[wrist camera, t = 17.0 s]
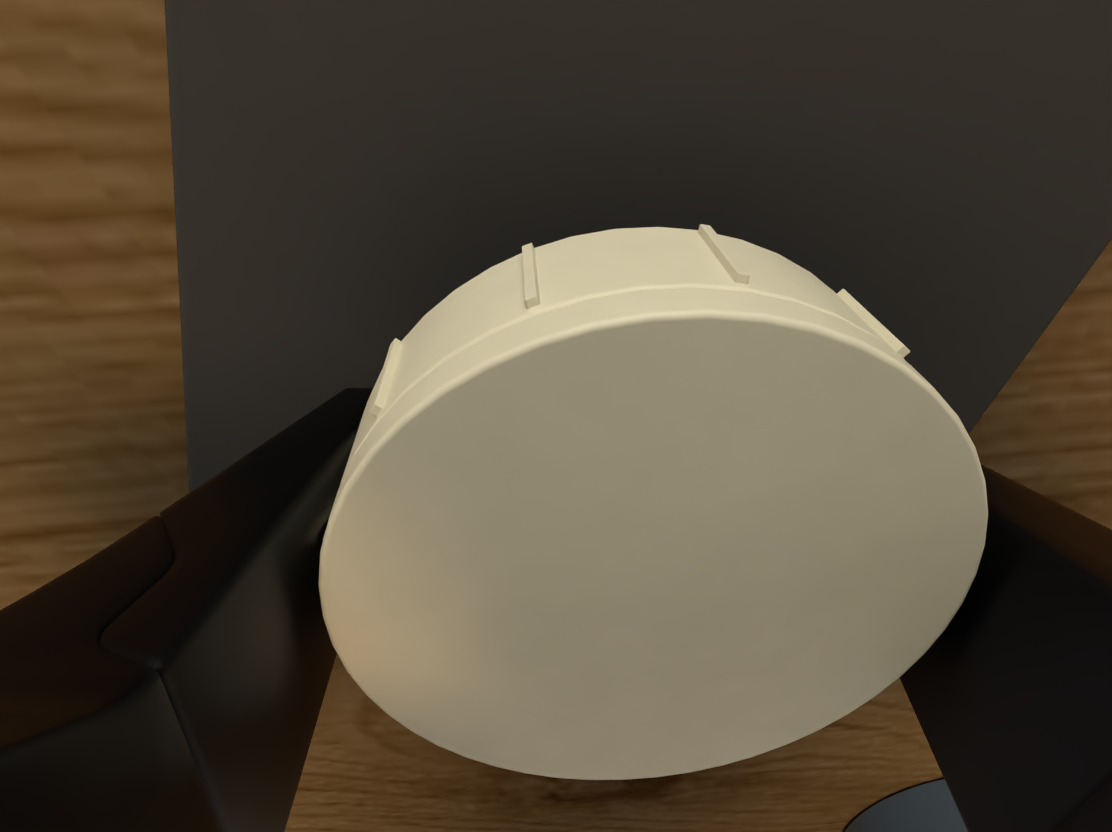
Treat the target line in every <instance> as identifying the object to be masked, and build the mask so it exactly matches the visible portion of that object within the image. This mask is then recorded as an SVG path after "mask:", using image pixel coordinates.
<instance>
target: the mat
mask: <svg viewBox="0 0 1112 832" xmlns="http://www.w3.org/2000/svg"><path fill="white" fill-rule="evenodd" d="M165 17H166V36H167V56H168V76H169V96H170V116H171V136H172V156H173V176H174V195H175V215H176V235H177V255H178V275H179V295H180V315H181V334H182V354H183V374H184V394H185V414H186V434H187V454H188V474H189V493H190V492H192V491H193V490H195V489H196V488H198V487H199V486H201V485H202V484H204V483H205V482H207V481H208V480H210V479H211V478H213V477H214V476H216V475H217V474H219V473H220V472H222V471H223V470H224V469H226V468H227V467H229V466H230V465H232V464H233V463H235V462H236V461H238V460H239V459H241V458H242V457H244V456H245V455H247V454H248V453H250V452H251V451H253V450H254V449H256V448H257V447H259V446H260V445H262V444H263V443H265V442H266V441H268V440H269V439H271V438H272V437H274V436H275V435H277V434H278V433H280V432H281V431H283V430H284V429H286V428H287V427H289V426H290V425H292V424H293V423H295V422H296V421H298V420H299V419H301V418H302V417H304V416H305V415H307V414H308V413H310V412H311V411H313V410H314V409H316V408H317V407H319V406H320V405H322V404H323V403H325V402H326V401H327V400H329V399H330V398H332V397H333V396H335V395H336V394H338V393H339V392H341V391H342V390H344V389H346V388H372V389H373V388H374V386H375V384H376V381H377V379H378V377H379V375H380V373H381V371H382V369H383V366H384V363H385V360H386V357H387V353H388V350H389V347H390V344H391V343H392V342H393V340H394V339H395V338H397V339H398V340H400V341H402V340H403V339H404V338H405V337H406V335H407V334H408V333H409V332H410V331H411V330H412V329H413V328H414V327H415V325H416V324H417V323H418V322H419V321H420V320H421V319H422V318H423V317H424V315H425V314H427V313H428V312H429V311H430V310H431V309H433V308H434V307H435V306H436V305H437V304H439V303H440V302H441V301H442V300H443V299H445V298H446V297H447V296H448V295H449V294H451V293H452V292H453V291H454V290H455V289H457V288H459V287H460V286H462V285H463V284H465V283H466V282H468V281H470V280H471V279H473V278H474V277H476V276H478V275H479V274H481V273H482V272H484V271H486V270H487V269H489V268H490V267H492V266H495V265H497V264H499V263H501V262H503V261H506V260H508V259H510V258H512V257H514V256H516V255H519V254H521V253H522V246H524V245H527V244H529V243H532V244H533V247H534V248H536V247H539V246H542V245H546V244H549V243H552V242H555V241H559V240H562V239H565V238H568V237H571V236H577V235H583V234H588V233H594V232H600V231H605V230H611V229H622V228H644V227H666V228H678V229H690V230H698V229H699V226H700V224H704V225H710V226H711V227H712V229H713V230H714V231H715V232H716V234H719V235H723V236H728V237H732V238H737V239H741V240H744V241H746V242H749V243H752V244H754V245H757V246H759V247H762V248H765V249H767V250H770V251H772V252H775V253H778V254H779V255H781V256H783V257H785V258H786V259H788V260H790V261H792V262H793V263H795V264H797V265H799V266H800V267H802V268H804V269H806V270H807V271H809V272H811V273H812V274H813V275H814V276H816V277H817V278H818V279H819V280H821V281H822V282H823V283H824V284H825V285H827V286H828V287H829V288H830V289H832V290H833V291H834V292H835V293H838V292H839V291H841V290H842V289H845V290H846V291H847V292H848V293H849V294H850V295H851V296H852V297H853V298H854V299H855V300H856V301H857V302H859V303H860V304H861V305H862V306H863V307H864V308H865V309H866V310H867V311H868V312H869V313H870V314H871V315H873V316H874V317H875V318H876V319H877V320H878V321H879V322H880V323H881V324H882V325H883V326H884V327H885V328H886V329H888V330H889V331H890V332H891V333H892V334H893V335H894V336H895V337H896V338H897V339H898V340H899V341H900V342H901V343H903V344H904V345H905V346H906V347H907V348H908V349H909V350H910V353H908V354H907V355H906V356H905V357H904V359H905V360H906V362H908V363H909V364H910V365H911V366H912V367H913V368H914V369H915V370H916V371H917V372H918V373H919V374H920V375H921V376H922V377H924V378H925V379H926V380H927V381H928V382H929V383H930V384H931V385H932V386H933V387H934V388H935V389H936V391H937V392H938V393H939V394H940V395H941V396H942V398H943V399H944V400H945V401H946V402H947V404H948V405H949V406H950V407H951V408H952V409H953V411H954V412H955V413H956V414H957V415H958V417H959V418H960V420H961V422H962V424H963V426H964V427H965V429H966V431H967V433H968V434H969V432H970V431H971V430H972V428H973V427H974V426H975V424H976V423H977V421H978V420H979V419H980V417H981V416H982V415H983V413H984V412H985V411H986V409H987V408H988V406H989V405H990V404H991V402H992V401H993V400H994V398H995V397H996V396H997V394H998V393H999V392H1000V390H1001V389H1002V387H1003V386H1004V385H1005V383H1006V382H1007V381H1008V379H1009V378H1010V377H1011V375H1012V374H1013V372H1014V371H1015V370H1016V368H1017V367H1018V366H1019V364H1020V363H1021V362H1022V360H1023V359H1024V357H1025V356H1026V355H1027V353H1028V352H1029V351H1030V349H1031V348H1032V347H1033V345H1034V344H1035V343H1036V341H1037V340H1038V338H1039V337H1040V336H1041V334H1042V333H1043V332H1044V330H1045V329H1046V328H1047V326H1048V325H1049V323H1050V322H1051V321H1052V319H1053V318H1054V317H1055V315H1056V314H1057V313H1058V311H1059V310H1060V309H1061V307H1062V306H1063V304H1064V303H1065V302H1066V300H1067V299H1068V298H1069V296H1070V295H1071V294H1072V292H1073V291H1074V289H1075V288H1076V287H1077V285H1078V284H1079V283H1080V281H1081V280H1082V279H1083V277H1084V276H1085V275H1086V273H1087V272H1088V270H1089V269H1090V268H1091V266H1092V265H1093V264H1094V262H1095V261H1096V260H1097V258H1098V257H1099V255H1100V254H1101V253H1102V251H1103V250H1104V249H1105V247H1106V246H1107V245H1108V243H1109V242H1110V240H1111V239H1112V0H165Z"/></svg>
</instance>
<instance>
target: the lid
mask: <svg viewBox="0 0 1112 832" xmlns="http://www.w3.org/2000/svg"><path fill="white" fill-rule="evenodd" d="M908 353H910V350H909V349H908V348H907V347H906V346H905V345H904V344H903V343H901V342H900V341H899V340H898V339H897V338H896V337H895V336H894V335H893V334H892V333H891V332H890V331H889V330H888V329H886V328H885V327H884V326H883V325H882V324H881V323H880V322H879V321H878V320H877V319H876V318H875V317H874V316H873V315H871V314H870V313H869V312H868V311H867V310H866V309H865V308H864V307H863V306H862V305H861V304H860V303H859V302H857V301H856V300H855V299H854V298H853V297H852V296H851V295H850V294H849V293H848V292H847V291H846V290H845V289H842V290H841V291H839V292H838V293H835V292H834V291H833V290H832V289H830V288H829V287H828V286H827V285H825V284H824V283H823V282H822V281H821V280H819V279H818V278H817V277H816V276H814V275H813V274H812V273H811V272H809V271H807V270H806V269H804V268H802V267H800V266H799V265H797V264H795V263H793V262H792V261H790V260H788V259H786V258H785V257H783V256H781V255H779V254H778V253H775V252H772V251H770V250H767V249H765V248H762V247H759V246H757V245H754V244H752V243H749V242H746V241H744V240H741V239H737V238H732V237H728V236H723V235H719V234H716V232H715V231H714V230H713V229H712V227H711V226H710V225H704V224H700V226H699V229H698V230H690V229H678V228H666V227H644V228H622V229H611V230H605V231H600V232H594V233H588V234H583V235H577V236H571V237H568V238H565V239H562V240H559V241H555V242H552V243H549V244H546V245H542V246H539V247H536V248H534V247H533V244H532V243H529V244H527V245H524V246H522V253H521V254H519V255H516V256H514V257H512V258H510V259H508V260H506V261H503V262H501V263H499V264H497V265H495V266H492V267H490V268H489V269H487V270H486V271H484V272H482V273H481V274H479V275H478V276H476V277H474V278H473V279H471V280H470V281H468V282H466V283H465V284H463V285H462V286H460V287H459V288H457V289H455V290H454V291H453V292H452V293H451V294H449V295H448V296H447V297H446V298H445V299H443V300H442V301H441V302H440V303H439V304H437V305H436V306H435V307H434V308H433V309H431V310H430V311H429V312H428V313H427V314H425V315H424V317H423V318H422V319H421V320H420V321H419V322H418V323H417V324H416V325H415V327H414V328H413V329H412V330H411V331H410V332H409V333H408V334H407V335H406V337H405V338H404V339H403V340H402V341H400V340H398V339H397V338H395V339H394V340H393V342H392V343H391V344H390V347H389V350H388V353H387V357H386V360H385V363H384V366H383V369H382V371H381V373H380V375H379V377H378V379H377V381H376V384H375V386H374V388H373V390H372V392H371V395H370V397H369V399H368V401H367V404H366V407H365V410H364V413H363V416H362V419H361V422H360V425H359V428H358V431H357V434H356V437H355V440H354V444H353V447H352V450H351V453H350V456H349V459H348V462H347V465H346V468H345V471H344V474H343V477H342V480H341V483H340V487H339V489H338V492H337V495H336V498H335V501H334V504H333V507H332V510H331V513H330V516H329V520H328V524H327V528H326V531H325V534H324V537H323V543H322V547H321V551H320V564H319V580H318V586H319V593H320V600H321V607H322V615H323V618H324V621H325V624H326V627H327V630H328V633H329V636H330V639H331V642H332V645H333V647H334V649H335V651H336V652H337V654H338V656H339V658H340V659H341V661H342V663H343V665H344V667H345V668H346V670H347V672H348V673H349V674H350V675H351V677H352V678H353V679H354V680H355V682H356V683H357V684H358V686H359V687H360V688H361V689H362V691H363V692H364V693H365V694H366V695H367V696H368V697H369V698H370V699H371V700H372V701H373V702H375V703H376V704H377V705H378V706H379V707H380V708H381V709H382V710H383V711H384V712H385V713H386V714H388V715H389V716H391V717H392V718H393V719H395V720H396V721H398V722H399V723H400V724H402V725H403V726H405V727H406V728H407V729H409V730H410V731H412V732H414V733H415V734H417V735H419V736H421V737H423V738H425V739H426V740H428V741H430V742H432V743H434V744H436V745H437V746H440V747H442V748H445V749H447V750H449V751H452V752H454V753H456V754H459V755H461V756H464V757H466V758H469V759H472V760H476V761H479V762H482V763H485V764H488V765H492V766H495V767H499V768H504V769H508V770H513V771H517V772H522V773H526V774H533V775H540V776H547V777H555V778H566V779H582V780H628V779H641V778H654V777H662V776H669V775H676V774H683V773H690V772H694V771H699V770H704V769H708V768H713V767H718V766H722V765H726V764H729V763H733V762H736V761H740V760H743V759H747V758H750V757H754V756H757V755H759V754H762V753H765V752H768V751H771V750H773V749H776V748H779V747H782V746H784V745H787V744H789V743H791V742H794V741H796V740H798V739H800V738H803V737H805V736H807V735H809V734H812V733H814V732H816V731H818V730H820V729H822V728H824V727H826V726H827V725H829V724H831V723H833V722H835V721H837V720H839V719H840V718H842V717H844V716H846V715H848V714H849V713H851V712H852V711H854V710H855V709H857V708H858V707H860V706H861V705H863V704H865V703H866V702H868V701H869V700H871V699H872V698H874V697H875V696H876V695H878V694H879V693H880V692H882V691H883V690H884V689H885V688H887V687H888V686H889V685H891V684H892V683H893V682H894V681H896V680H897V679H898V678H900V677H901V676H902V675H903V674H904V673H905V672H906V671H907V670H908V669H909V668H910V667H911V666H912V665H913V664H914V663H915V662H917V661H918V660H919V659H920V658H921V657H922V656H923V655H924V654H925V653H926V652H927V650H928V649H929V648H930V647H931V646H932V644H933V643H934V642H935V641H936V640H937V639H938V637H939V636H940V635H941V634H942V633H943V631H944V630H945V629H946V627H947V626H948V624H949V623H950V621H951V620H952V618H953V617H954V615H955V614H956V612H957V611H958V609H959V608H960V606H961V605H962V603H963V601H964V599H965V597H966V595H967V593H968V591H969V589H970V586H971V584H972V582H973V580H974V578H975V576H976V573H977V570H978V567H979V563H980V560H981V556H982V553H983V550H984V546H985V539H986V530H987V521H988V505H987V493H986V482H985V478H984V474H983V471H982V468H981V464H980V461H979V458H978V455H977V451H976V448H975V446H974V444H973V442H972V440H971V438H970V437H969V435H968V433H967V431H966V429H965V427H964V426H963V424H962V422H961V420H960V418H959V417H958V415H957V414H956V413H955V412H954V411H953V409H952V408H951V407H950V406H949V405H948V404H947V402H946V401H945V400H944V399H943V398H942V396H941V395H940V394H939V393H938V392H937V391H936V389H935V388H934V387H933V386H932V385H931V384H930V383H929V382H928V381H927V380H926V379H925V378H924V377H922V376H921V375H920V374H919V373H918V372H917V371H916V370H915V369H914V368H913V367H912V366H911V365H910V364H909V363H908V362H906V360H905V359H904V357H905V356H906V355H907V354H908Z"/></svg>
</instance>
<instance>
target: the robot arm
mask: <svg viewBox="0 0 1112 832" xmlns="http://www.w3.org/2000/svg"><path fill="white" fill-rule="evenodd" d="M372 390H373V389H372V388H346V389H344V390H342V391H341V392H339V393H338V394H336V395H335V396H333V397H332V398H330V399H329V400H327V401H326V402H325V403H323V404H322V405H320V406H319V407H317V408H316V409H314V410H313V411H311V412H310V413H308V414H307V415H305V416H304V417H302V418H301V419H299V420H298V421H296V422H295V423H293V424H292V425H290V426H289V427H287V428H286V429H284V430H283V431H281V432H280V433H278V434H277V435H275V436H274V437H272V438H271V439H269V440H268V441H266V442H265V443H263V444H262V445H260V446H259V447H257V448H256V449H254V450H253V451H251V452H250V453H248V454H247V455H245V456H244V457H242V458H241V459H239V460H238V461H236V462H235V463H233V464H232V465H230V466H229V467H227V468H226V469H224V470H223V471H222V472H220V473H219V474H217V475H216V476H214V477H213V478H211V479H210V480H208V481H207V482H205V483H204V484H202V485H201V486H199V487H198V488H196V489H195V490H193V491H192V492H190V493H189V494H187V495H186V496H184V497H183V498H181V499H180V500H178V501H177V502H175V503H174V504H172V505H171V506H169V507H168V508H166V509H165V510H163V511H162V512H161V513H160V517H159V516H154V517H152V518H151V519H149V520H148V521H146V522H145V523H144V524H142V525H141V526H139V527H138V528H136V529H135V530H133V531H132V532H130V533H129V534H127V535H125V536H124V537H122V538H121V539H119V540H118V541H116V542H115V543H113V544H111V545H110V546H108V547H107V548H105V549H104V550H102V551H100V552H99V553H97V554H96V555H94V556H93V557H91V558H89V559H88V560H86V561H85V562H83V563H81V564H80V565H78V566H76V567H75V568H73V569H71V570H69V571H68V572H66V573H64V574H63V575H61V576H59V577H58V578H56V579H54V580H52V581H51V582H49V583H47V584H46V585H44V586H42V587H41V588H39V589H37V590H36V591H34V592H32V593H30V594H29V595H27V596H25V597H23V598H21V599H20V600H18V601H16V602H14V603H13V604H11V605H9V606H7V607H6V608H4V609H2V610H0V832H284V831H285V828H286V824H287V821H288V817H289V814H290V811H291V807H292V804H293V800H294V797H295V794H296V790H297V787H298V783H299V780H300V777H301V773H302V770H303V766H304V763H305V760H306V756H307V753H308V749H309V746H310V743H311V739H312V736H313V732H314V729H315V726H316V722H317V719H318V715H319V712H320V709H321V705H322V702H323V698H324V695H325V692H326V688H327V685H328V681H329V678H330V675H331V671H332V668H333V664H334V661H335V657H336V654H337V652H336V651H335V649H334V647H333V645H332V642H331V639H330V636H329V633H328V630H327V627H326V624H325V621H324V618H323V615H322V607H321V600H320V593H319V586H318V580H319V564H320V551H321V547H322V543H323V537H324V534H325V531H326V528H327V524H328V520H329V516H330V513H331V510H332V507H333V504H334V501H335V498H336V495H337V492H338V489H339V487H340V483H341V480H342V477H343V474H344V471H345V468H346V465H347V462H348V459H349V456H350V453H351V450H352V447H353V444H354V440H355V437H356V434H357V431H358V428H359V425H360V422H361V419H362V416H363V413H364V410H365V407H366V404H367V401H368V399H369V397H370V395H371V392H372ZM981 468H982V471H983V474H984V478H985V482H986V493H987V505H988V521H987V530H986V539H985V546H984V550H983V553H982V556H981V560H980V563H979V567H978V570H977V573H976V576H975V578H974V580H973V582H972V584H971V586H970V589H969V591H968V593H967V595H966V597H965V599H964V601H963V603H962V605H961V606H960V608H959V609H958V611H957V612H956V614H955V615H954V617H953V618H952V620H951V621H950V623H949V624H948V626H947V627H946V629H945V630H944V631H943V633H942V634H941V635H940V636H939V637H938V639H937V640H936V641H935V642H934V643H933V644H932V646H931V647H930V648H929V649H928V650H927V652H926V653H925V654H924V655H923V656H922V657H921V658H920V659H919V660H918V661H917V662H915V663H914V664H913V665H912V666H911V667H910V668H909V669H908V670H907V671H906V672H905V673H904V674H903V675H902V676H901V677H900V679H901V682H902V684H903V686H904V689H905V691H906V693H907V695H908V698H909V700H910V702H911V704H912V707H913V709H914V711H915V713H916V716H917V718H918V720H919V722H920V725H921V727H922V729H923V731H924V734H925V736H926V738H927V740H928V743H929V745H930V747H931V750H932V752H933V754H934V756H935V759H936V761H937V763H938V765H939V768H940V770H941V772H942V774H943V777H944V779H945V781H946V783H947V786H948V788H949V790H950V792H951V795H952V797H953V799H954V801H955V804H956V806H957V808H958V811H959V813H960V815H961V817H962V820H963V822H964V824H965V826H966V829H967V831H968V832H1112V530H1111V529H1109V528H1107V527H1105V526H1103V525H1101V524H1099V523H1097V522H1095V521H1093V520H1091V519H1089V518H1087V517H1085V516H1083V515H1081V514H1079V513H1077V512H1075V511H1073V510H1071V509H1069V508H1067V507H1065V506H1063V505H1061V504H1059V503H1057V502H1055V501H1053V500H1051V499H1049V498H1047V497H1045V496H1043V495H1041V494H1039V493H1037V492H1035V491H1033V490H1031V489H1029V488H1027V487H1025V486H1023V485H1021V484H1019V483H1017V482H1015V481H1013V480H1011V479H1009V478H1007V477H1005V476H1003V475H1001V474H999V473H997V472H995V471H993V470H991V469H989V468H987V467H985V466H983V465H981Z"/></svg>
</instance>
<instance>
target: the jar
mask: <svg viewBox="0 0 1112 832" xmlns="http://www.w3.org/2000/svg"><path fill="white" fill-rule="evenodd" d="M844 832H968V831H967V829H966V826H965V824H964V822H963V820H962V817H961V815H960V813H959V811H958V808H957V806H956V804H955V801H954V799H953V797H952V795H951V792H950V790H949V788H948V786H947V783H946V781H945V779H942V780H937V781H933V782H929V783H926V784H922V785H919V786H916V787H913V788H910V789H907V790H905V791H902V792H899V793H897V794H895V795H892V796H890V797H888V798H886V799H884V800H882V801H880V802H879V803H877V804H875V805H873V806H872V807H870V808H869V809H867V810H866V811H864V812H863V813H862V814H860V815H859V816H858V817H857V818H855V819H854V820H853V821H852V822H851V824H850V825H849V826H848V827H847V829H846V830H845V831H844Z"/></svg>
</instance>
